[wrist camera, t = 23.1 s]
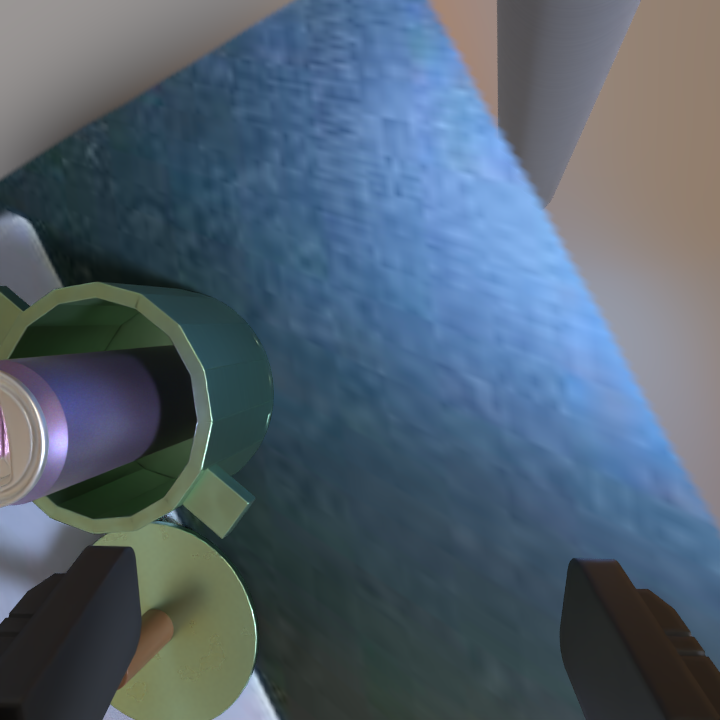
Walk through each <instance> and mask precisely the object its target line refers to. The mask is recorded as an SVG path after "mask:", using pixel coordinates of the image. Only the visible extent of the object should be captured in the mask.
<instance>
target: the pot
mask: <svg viewBox="0 0 720 720" xmlns="http://www.w3.org/2000/svg"><path fill="white" fill-rule="evenodd" d="M167 345H174V346H175V348H176V350H177V352H178V354H179V355H180V357H181V359H182V361H183V363H184V364H185V366H186V368H187V370H188V372H189V373H190V376H191V382H192V389H193V395H194V402H195V409H196V415H197V425H196V430H195V434H194V437H193V438H191V439H188V440H186V441H183V442H181V443H178V444H176V445H173V446H170V447H168V448H165V449H163V450H160V451H158V452H155V453H153V454H150V455H148V456H145V457H143V458H140V459H138V460H135V461H132V462H130V463H127V464H125V465H122V466H120V467H117V468H115V469H112V470H110V471H107V472H105V473H102V474H100V475H97V476H95V477H92V478H89V479H87V480H84V481H82V482H79V483H77V484H74V485H72V486H69V487H67V488H64V489H62V490H59V491H57V492H54V493H51V494H49V495H46V496H44V497H41V498H39V499H36V500H34V501H32V502H33V503H34V504H36V505H37V506H38V507H39V508H40V509H41V510H42V511H43V512H44V513H45V514H47V515H48V516H49V517H50V518H52V519H54V520H57V521H59V522H62V523H65V524H67V525H70V526H73V527H75V528H78V529H81V530H83V531H86V532H89V533H93V534H103V533H117V532H132V531H138V530H139V529H141V528H143V527H145V526H146V525H148V524H150V523H152V522H153V521H155V520H157V519H159V518H160V517H162V516H164V515H166V514H167V513H169V512H171V511H173V510H174V509H176V508H178V507H180V506H181V505H184V506H185V507H186V508H187V509H188V510H189V511H191V512H192V513H193V514H194V515H195V516H196V517H198V518H199V519H200V520H201V521H202V522H203V523H204V524H206V525H207V526H208V527H209V528H210V529H211V530H212V531H214V532H215V533H216V534H217V535H218V536H219V537H221V538H222V539H223V538H224V537H226V536H227V535H228V534H229V533H231V531H232V530H233V529H234V527H235V526H236V525H237V523H238V522H239V521H240V519H241V518H242V517H243V515H244V514H245V513H246V511H247V510H248V509H249V507H250V506H251V504H252V503H253V502H254V500H255V499H256V498H255V497H254V496H253V495H252V494H251V493H250V492H248V491H247V490H246V489H245V488H244V487H243V486H241V485H240V484H239V483H238V482H237V481H235V480H234V479H233V478H232V477H231V476H232V475H233V474H235V473H237V472H238V471H240V470H241V469H242V468H243V466H244V465H245V464H246V463H247V462H248V461H249V460H250V459H251V457H252V456H253V455H254V454H255V452H256V451H257V449H258V448H259V446H260V444H261V443H262V441H263V439H264V436H265V434H266V432H267V429H268V426H269V423H270V420H271V415H272V409H273V395H274V390H273V378H272V374H271V369H270V365H269V362H268V359H267V356H266V353H265V351H264V349H263V347H262V345H261V343H260V341H259V339H258V337H257V336H256V334H255V333H254V331H253V330H252V329H251V327H250V326H249V325H248V324H247V323H246V321H245V320H244V319H243V318H242V317H241V316H239V315H238V314H237V313H236V312H235V311H234V310H232V309H231V308H230V307H228V306H227V305H225V304H224V303H222V302H220V301H218V300H217V299H215V298H212V297H209V296H206V295H203V294H200V293H195V292H190V291H186V290H183V289H177V288H165V287H154V286H142V285H131V284H119V283H108V282H92V283H86V284H80V285H75V286H69V287H64V288H58V289H55V290H52V291H51V292H50V293H48V294H47V295H45V296H44V297H43V298H41V299H40V300H38V301H37V302H36V303H34V304H33V305H32V306H29V305H28V304H27V303H26V302H24V301H23V300H22V299H21V298H20V297H19V296H17V295H16V294H15V293H14V292H13V291H11V290H10V289H9V288H8V287H7V286H0V360H6V359H18V358H29V357H41V356H52V355H64V354H75V353H87V352H98V351H110V350H121V349H133V348H144V347H156V346H167Z"/></svg>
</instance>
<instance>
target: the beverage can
mask: <svg viewBox="0 0 720 720" xmlns="http://www.w3.org/2000/svg"><path fill="white" fill-rule="evenodd" d="M196 425H197V415H196V409H195V402H194V395H193V389H192V382H191V376H190V373H189V372H188V370H187V368H186V366H185V364H184V363H183V361H182V359H181V357H180V355H179V354H178V352H177V350H176V348H175V346H174V345H167V346H156V347H144V348H133V349H121V350H110V351H98V352H87V353H75V354H64V355H52V356H41V357H29V358H18V359H6V360H0V507H4V506H8V505H20V504H25V503H28V502H31V501H34V500H36V499H39V498H41V497H44V496H46V495H49V494H51V493H54V492H57V491H59V490H62V489H64V488H67V487H69V486H72V485H74V484H77V483H79V482H82V481H84V480H87V479H89V478H92V477H95V476H97V475H100V474H102V473H105V472H107V471H110V470H112V469H115V468H117V467H120V466H122V465H125V464H127V463H130V462H132V461H135V460H138V459H140V458H143V457H145V456H148V455H150V454H153V453H155V452H158V451H160V450H163V449H165V448H168V447H170V446H173V445H176V444H178V443H181V442H183V441H186V440H188V439H191V438H193V437H194V434H195V430H196Z"/></svg>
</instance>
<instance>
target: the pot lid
mask: <svg viewBox="0 0 720 720" xmlns="http://www.w3.org/2000/svg"><path fill="white" fill-rule="evenodd" d="M92 546H129V547H132V548H133V550H134V552H135V556H136V565H137V575H138V585H139V596H140V606H141V617H142V624H141V634H140V639H139V643H138V647H137V650H136V653H135V655H134V657H133V659H132V661H131V663H130V665H129V667H128V669H127V671H126V673H125V675H124V677H123V679H122V681H121V683H120V685H119V687H118V689H117V691H116V693H115V695H114V697H113V699H112V701H111V703H110V704H111V705H112V706H113V707H114V708H116V709H117V710H119V711H120V712H122V713H123V714H125V715H127V716H129V717H131V718H133V719H135V720H212V719H214V718H216V717H217V716H219V715H221V714H222V713H223V712H224V711H226V710H227V709H228V708H229V707H230V706H231V705H232V704H233V703H234V702H235V701H236V700H237V699H238V697H239V696H240V694H241V693H242V691H243V690H244V688H245V687H246V686H247V684H248V682H249V680H250V677H251V675H252V673H253V670H254V667H255V664H256V660H257V654H258V649H259V627H258V618H257V614H256V609H255V605H254V602H253V599H252V596H251V593H250V591H249V589H248V587H247V585H246V583H245V581H244V579H243V577H242V576H241V574H240V573H239V571H238V569H237V568H236V567H235V565H234V564H233V563H232V562H231V560H230V559H229V558H228V557H227V556H226V555H225V554H224V553H223V552H222V551H221V550H220V549H219V548H218V547H217V546H216V545H214V544H213V543H212V542H210V541H209V540H208V539H207V538H205V537H203V536H201V535H200V534H198V533H196V532H195V531H192V530H190V529H188V528H185V527H183V526H180V525H176V524H173V523H168V522H161V521H153V522H152V523H150V524H148V525H146V526H145V527H143V528H141V529H139V530H138V531H132V532H117V533H107V534H106V535H104V536H103V537H101V538H100V539H98V540H97V541H96V542H95V543H94V544H93V545H92Z"/></svg>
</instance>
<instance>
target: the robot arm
mask: <svg viewBox="0 0 720 720" xmlns="http://www.w3.org/2000/svg"><path fill="white" fill-rule="evenodd" d="M141 624H142V617H141V606H140V596H139V585H138V575H137V565H136V556H135V552H134V550H133V548H132V547H129V546H88V547H86V548H85V549H84V550H83V552H82V553H81V554H80V556H79V557H78V558H77V559H76V561H75V562H74V563H73V565H72V566H71V567H70V568H69V570H68V571H67V572H66V573H54V574H53V575H51V576H50V577H48V578H47V579H45V580H44V581H42V582H41V583H40V584H38V585H37V586H35V587H34V588H32V589H31V590H29V591H28V592H27V593H26V594H25V595H24V596H23V598H22V599H21V600H20V601H19V602H18V604H17V605H16V606H15V607H14V608H13V610H12V611H11V612H10V613H9V617H8V618H5V619H4V620H3V622H2V623H1V624H0V720H102V719H103V717H104V715H105V713H106V711H107V709H108V707H109V705H110V703H111V701H112V699H113V697H114V695H115V693H116V691H117V689H118V687H119V685H120V683H121V681H122V679H123V677H124V675H125V673H126V671H127V669H128V667H129V665H130V663H131V661H132V659H133V657H134V655H135V653H136V650H137V647H138V643H139V639H140V634H141ZM560 647H561V654H562V659H563V663H564V666H565V669H566V671H567V674H568V676H569V679H570V681H571V684H572V686H573V689H574V691H575V694H576V696H577V699H578V701H579V704H580V706H581V709H582V711H583V714H584V716H585V718H586V720H720V672H719V671H718V669H717V668H716V667H715V665H714V664H713V662H712V661H711V660H710V658H709V657H706V656H705V651H704V650H703V648H702V647H701V646H700V644H699V643H698V641H697V640H696V639H695V637H692V636H691V632H690V630H689V629H688V628H687V626H686V625H685V623H684V622H683V621H682V619H681V618H680V616H679V615H678V614H677V612H676V611H675V609H674V608H672V607H671V606H670V605H668V604H667V603H666V602H664V601H663V600H662V599H661V598H659V597H658V596H657V595H655V594H654V593H653V592H651V591H650V590H649V589H636V588H635V587H634V585H633V584H632V582H631V581H630V579H629V578H628V576H627V575H626V573H625V572H624V570H623V568H622V567H621V565H620V564H619V563H618V562H617V561H616V560H614V559H578V558H573V559H572V560H571V561H570V563H569V566H568V571H567V579H566V587H565V594H564V602H563V610H562V617H561V625H560Z"/></svg>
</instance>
